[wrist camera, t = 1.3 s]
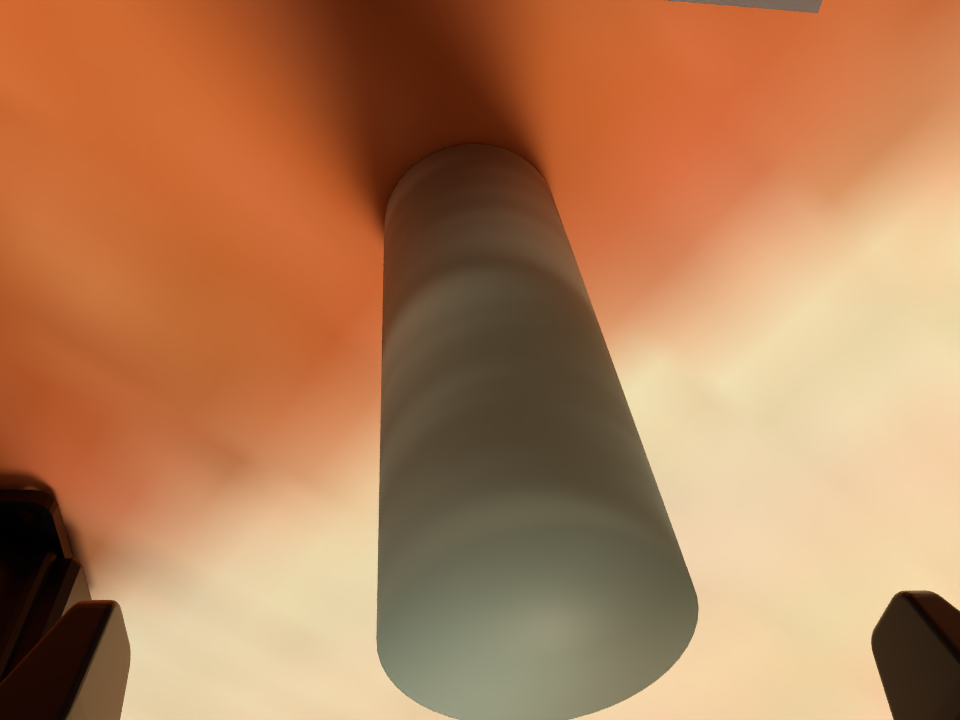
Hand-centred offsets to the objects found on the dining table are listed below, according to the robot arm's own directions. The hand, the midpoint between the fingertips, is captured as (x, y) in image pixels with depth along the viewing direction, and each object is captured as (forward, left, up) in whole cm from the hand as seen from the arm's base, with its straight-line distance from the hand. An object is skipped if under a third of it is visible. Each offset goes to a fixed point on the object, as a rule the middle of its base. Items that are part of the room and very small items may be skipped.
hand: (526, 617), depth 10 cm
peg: (0, 0, -10) cm, 10 cm away
